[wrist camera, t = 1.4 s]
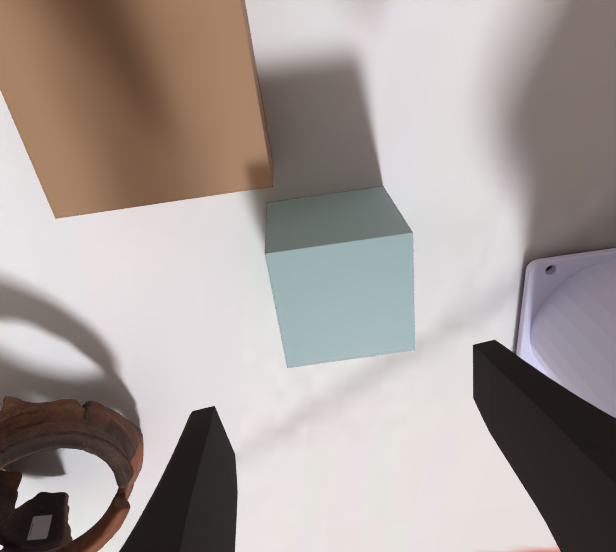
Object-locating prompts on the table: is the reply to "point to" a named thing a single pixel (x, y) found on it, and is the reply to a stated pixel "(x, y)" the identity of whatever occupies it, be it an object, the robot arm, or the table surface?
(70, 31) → the slab
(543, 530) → the table surface
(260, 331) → the table surface
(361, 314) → the cube
